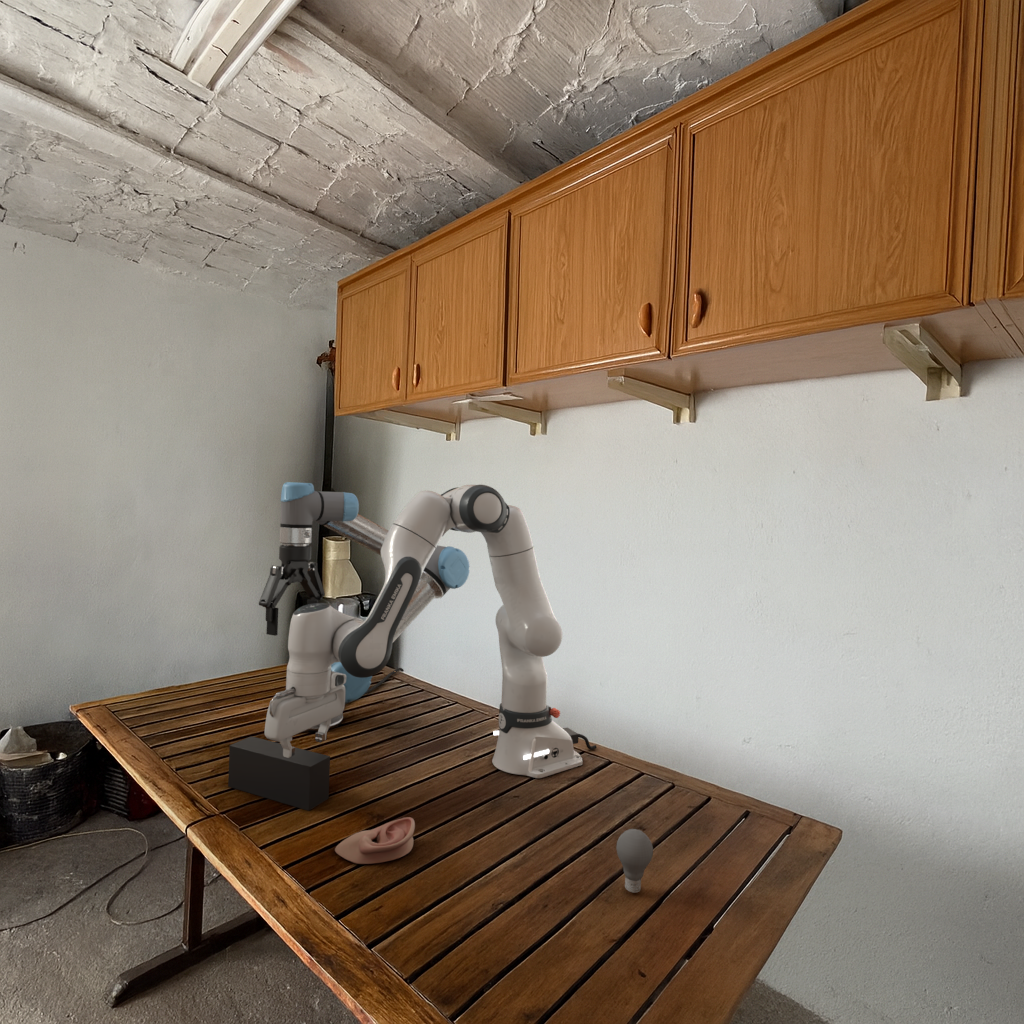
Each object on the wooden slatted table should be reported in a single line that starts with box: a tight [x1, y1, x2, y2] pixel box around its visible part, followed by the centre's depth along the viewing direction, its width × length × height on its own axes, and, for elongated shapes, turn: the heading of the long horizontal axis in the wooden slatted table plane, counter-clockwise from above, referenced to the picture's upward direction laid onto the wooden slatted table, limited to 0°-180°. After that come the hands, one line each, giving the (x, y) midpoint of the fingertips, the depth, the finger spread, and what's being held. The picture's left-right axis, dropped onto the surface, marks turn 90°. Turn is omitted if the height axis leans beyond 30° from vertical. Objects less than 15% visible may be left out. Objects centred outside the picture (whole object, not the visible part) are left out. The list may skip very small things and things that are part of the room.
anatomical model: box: [334, 816, 416, 865], centre depth 115 cm, size 13×4×12 cm
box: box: [227, 736, 331, 812], centre depth 135 cm, size 22×6×9 cm, turn 66°
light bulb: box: [615, 828, 654, 894], centre depth 106 cm, size 6×6×10 cm
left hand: (292, 630), depth 157 cm, fingers open, 13 cm apart
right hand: (305, 748), depth 132 cm, fingers open, 8 cm apart
